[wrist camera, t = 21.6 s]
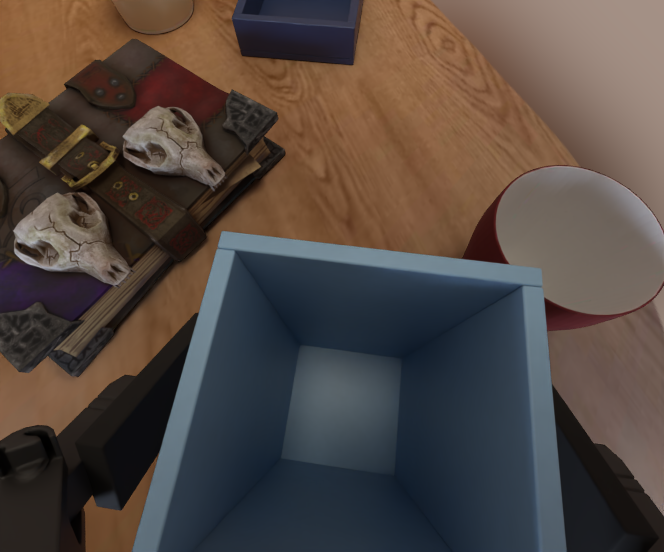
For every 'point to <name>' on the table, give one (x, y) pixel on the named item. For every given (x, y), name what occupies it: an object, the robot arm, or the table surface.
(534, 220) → the mug
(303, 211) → the table surface
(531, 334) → the inner bin
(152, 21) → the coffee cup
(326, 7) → the base bin
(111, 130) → the book
